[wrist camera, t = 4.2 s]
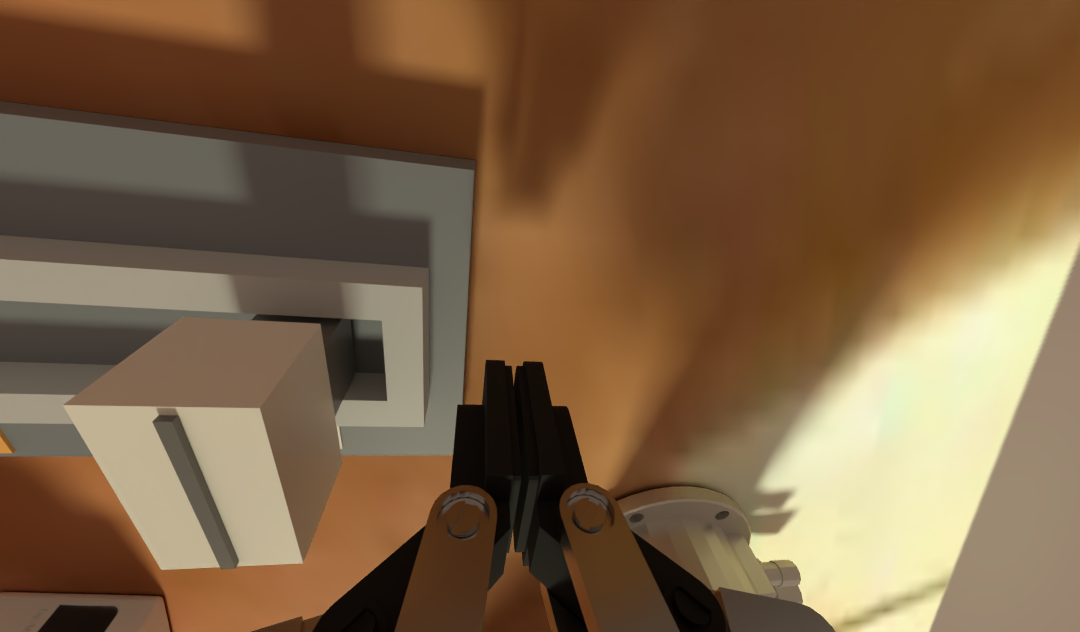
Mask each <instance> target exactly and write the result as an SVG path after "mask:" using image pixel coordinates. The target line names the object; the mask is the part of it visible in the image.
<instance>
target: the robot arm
mask: <svg viewBox="0 0 1080 632" xmlns="http://www.w3.org/2000/svg"><path fill="white" fill-rule="evenodd" d="M512 531H513V536H514V549H515V552H522V558H523V566H529V571H530V573H531V574H532V575H533V576H534V577H536V578H537V579H538V580H539V581H540V587H541V594H542V598H543V602H544V606H545V610H546V614H547V618H548V622H549V626H550V630H551V632H835V631H834V629H833V627H832V626H831V625H830V624H829V623H828V622H827V621H826V620H825V619H824V618H823V617H822V616H821V615H820V614H818V613H817V612H816V611H814V610H813V609H811V608H810V607H808V606H805V605H802V603H803V600H802V595H801V592H800V589H799V587H798V585H799V584H800V581H801V578H800V573H799V570H798V568H797V566H796V565H795V564H794V563H793V562H792V561H790V560H776V561H769V562H761V561H760V560H758V559H757V558H756V557H755V555H754V554H753V552H752V550H751V548H750V547H749V544H750V537H751V531H750V526H749V523H748V521H747V519H746V518H745V516H744V514H743V513H742V511H741V509H740V508H739V506H738V505H737V504H736V503H735V502H734V501H733V500H732V499H730V498H729V497H727V496H725V495H723V494H722V493H719V492H716V491H713V490H709V489H706V488H698V487H691V486H680V487H665V488H659V489H652V490H648V491H644V492H641V493H637V494H633V495H630V496H628V497H625V498H623V499H620V500H618V501H616V500H615V498H614V497H613V496H612V495H611V494H610V493H609V492H608V491H606V490H605V489H603V488H601V487H599V486H598V485H594V484H590V483H588V481H587V477H586V473H585V470H584V466H583V462H582V458H581V455H580V451H579V447H578V443H577V439H576V436H575V432H574V428H573V424H572V420H571V417H570V413H569V410H568V408H567V407H566V406H552V404H551V399H550V395H549V390H548V385H547V381H546V376H545V371H544V367H543V363H542V362H527V361H524V362H523V366H517V367H516V373H515V380H514V386H513V375H512V366H505V361H500V360H486V365H485V377H484V389H483V401H482V405H459V404H458V405H457V415H456V426H455V438H454V449H453V461H452V472H451V484H450V489H448V490H447V491H445V492H444V493H442V494H441V495H440V496H439V497H438V498H437V499H436V500H435V502H434V504H433V506H432V508H431V510H430V513H429V517H428V520H427V523H426V525H425V526H424V527H423V528H422V529H421V530H420V531H418V532H417V533H416V534H415V535H414V536H413V537H411V538H410V539H409V540H408V541H407V542H406V543H404V544H403V545H402V546H401V547H400V548H399V549H397V550H396V551H395V552H394V553H393V554H392V555H390V556H389V557H388V558H387V559H386V560H385V561H383V562H382V563H381V564H380V565H379V566H378V567H376V568H375V569H374V570H373V571H372V572H370V573H369V574H368V575H367V576H366V577H365V578H363V579H362V580H361V581H360V582H359V583H358V584H356V585H355V586H354V587H353V588H352V589H351V590H349V591H348V592H347V593H346V594H345V595H344V596H342V597H341V598H340V599H339V600H338V601H337V602H335V603H334V604H333V605H332V606H331V607H330V608H329V609H328V610H327V611H326V612H325V613H324V614H323V615H319V616H316V617H313V618H310V619H307V620H303V618H302V616H300V617H297V618H294V619H291V620H287V621H284V622H281V623H278V624H274V625H271V626H268V627H265V628H261V629H258V630H255V631H252V632H482V631H483V623H484V615H485V608H486V600H487V592H488V591H489V590H490V588H491V587H492V586H493V585H494V584H495V583H496V581H497V580H498V579H499V578H500V577H501V576H502V574H503V572H504V566H505V560H506V554H507V553H509V549H510V543H511V537H512Z"/></svg>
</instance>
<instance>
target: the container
mask: <svg viewBox="0 0 1080 632" xmlns="http://www.w3.org/2000/svg"><path fill="white" fill-rule="evenodd" d="M0 632H170V628H169V623H168V618H167V614H166V609H165V605H164V600H163V598H162V597H161V596H144V595H106V594H69V593H31V592H1V593H0Z"/></svg>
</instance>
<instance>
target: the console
mask: <svg viewBox="0 0 1080 632" xmlns="http://www.w3.org/2000/svg"><path fill="white" fill-rule="evenodd" d="M475 163H476V160H470V159H462V158H454V157H446V156H438V155H430V154H422V153H414V152H406V151H398V150H390V149H382V148H374V147H366V146H358V145H350V144H342V143H334V142H326V141H318V140H310V139H302V138H294V137H286V136H278V135H270V134H262V133H254V132H246V131H238V130H230V129H222V128H214V127H206V126H198V125H190V124H182V123H174V122H166V121H158V120H150V119H142V118H134V117H126V116H118V115H110V114H101V113H93V112H85V111H77V110H69V109H61V108H53V107H45V106H37V105H29V104H21V103H13V102H5V101H0V457H5V456H93V455H92V453H91V452H90V450H89V448H88V447H87V445H86V443H85V442H84V440H83V438H82V437H81V435H80V433H79V432H78V430H77V428H76V427H75V425H74V423H73V422H72V420H71V418H70V417H69V415H68V413H67V412H66V410H65V408H64V407H63V404H65V403H66V402H68V401H69V400H70V399H72V398H73V397H74V396H76V395H77V394H78V393H80V392H81V391H82V390H84V389H85V388H86V387H88V386H89V385H91V384H92V383H93V382H95V381H96V380H97V379H99V378H100V377H101V376H103V375H104V374H105V373H107V372H108V371H110V370H111V369H112V368H114V367H115V366H116V365H118V364H119V363H120V362H122V361H123V360H124V359H126V358H127V357H129V356H130V355H131V354H133V353H134V352H135V351H137V350H138V349H139V348H141V347H142V346H143V345H145V344H146V343H147V342H149V341H150V340H152V339H153V338H154V337H156V336H157V335H158V334H160V333H161V332H162V331H164V330H165V329H166V328H168V327H169V326H171V325H172V324H173V323H175V322H176V321H177V320H179V319H180V318H181V317H197V318H216V319H236V320H251V319H252V318H253V317H254V316H256V315H257V314H266V315H284V316H303V317H322V318H341V319H350V321H351V330H352V339H353V347H354V356H355V365H356V373H355V375H354V377H353V379H352V381H351V384H350V386H349V388H348V390H347V392H346V394H345V397H344V399H343V401H342V403H341V405H340V407H339V409H338V412H337V414H336V416H335V419H336V425H337V432H338V438H339V444H340V451H341V455H453V449H454V438H455V426H456V415H457V405H458V404H459V405H463V395H464V375H465V356H466V337H467V317H468V298H469V279H470V259H471V240H472V221H473V201H474V182H475Z"/></svg>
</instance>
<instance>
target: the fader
mask: <svg viewBox="0 0 1080 632" xmlns="http://www.w3.org/2000/svg"><path fill="white" fill-rule="evenodd" d="M355 373H356V365H355V356H354V347H353V339H352V330H351V321H350V319H341V318H322V317H303V316H284V315H266V314H257V315H256V316H254V317H253V318H252V319H251V320H236V319H216V318H197V317H181V318H180V319H179V320H177V321H176V322H175V323H173V324H172V325H171V326H169V327H168V328H166V329H165V330H164V331H162V332H161V333H160V334H158V335H157V336H156V337H154V338H153V339H152V340H150V341H149V342H147V343H146V344H145V345H143V346H142V347H141V348H139V349H138V350H137V351H135V352H134V353H133V354H131V355H130V356H129V357H127V358H126V359H124V360H123V361H122V362H120V363H119V364H118V365H116V366H115V367H114V368H112V369H111V370H110V371H108V372H107V373H105V374H104V375H103V376H101V377H100V378H99V379H97V380H96V381H95V382H93V383H92V384H91V385H89V386H88V387H86V388H85V389H84V390H82V391H81V392H80V393H78V394H77V395H76V396H74V397H73V398H72V399H70V400H69V401H68V402H66V403H65V404H63V407H64V408H65V410H66V412H67V413H68V415H69V417H70V418H71V420H72V422H73V423H74V425H75V427H76V428H77V430H78V432H79V433H80V435H81V437H82V438H83V440H84V442H85V443H86V445H87V447H88V448H89V450H90V452H91V453H92V455H93V457H94V458H95V460H96V462H97V463H98V465H99V467H100V468H101V470H102V472H103V473H104V475H105V477H106V478H107V480H108V482H109V483H110V485H111V487H112V488H113V490H114V492H115V493H116V495H117V497H118V498H119V500H120V502H121V503H122V505H123V507H124V508H125V510H126V512H127V513H128V515H129V517H130V518H131V520H132V522H133V523H134V525H135V527H136V528H137V530H138V532H139V533H140V535H141V537H142V538H143V540H144V542H145V543H146V545H147V547H148V548H149V550H150V552H151V553H152V555H153V557H154V558H155V560H156V562H157V563H158V565H159V567H160V568H161V570H168V569H190V568H211V567H220V568H221V569H236V567H237V566H254V565H276V564H297V563H303V562H304V560H305V557H306V555H307V552H308V550H309V547H310V544H311V542H312V539H313V537H314V534H315V532H316V529H317V526H318V524H319V521H320V519H321V516H322V513H323V511H324V508H325V506H326V503H327V501H328V498H329V495H330V493H331V490H332V488H333V485H334V483H335V480H336V477H337V475H338V472H339V470H340V467H341V465H342V457H341V451H340V444H339V438H338V432H337V425H336V419H335V416H336V414H337V412H338V409H339V407H340V405H341V403H342V401H343V399H344V397H345V394H346V392H347V390H348V388H349V386H350V384H351V381H352V379H353V377H354V375H355Z"/></svg>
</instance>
